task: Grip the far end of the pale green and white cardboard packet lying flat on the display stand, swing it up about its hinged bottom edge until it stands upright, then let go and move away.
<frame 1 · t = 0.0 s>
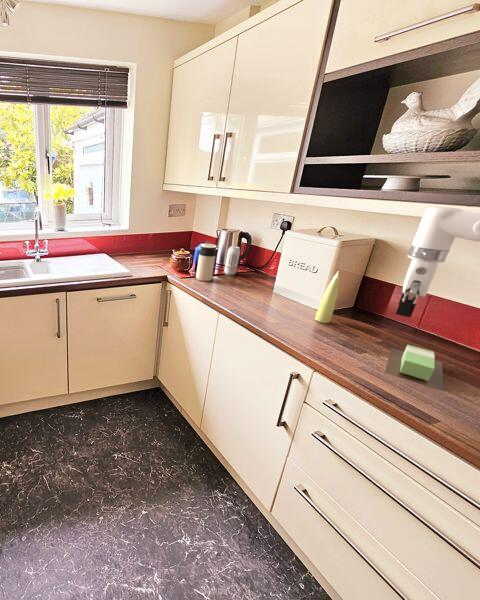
hand: (404, 310, 98), 17 cm above the counter, tool pointing down, fingers open, 9 cm apart
packet: (417, 361, 99), point 3 cm above the counter, hinge at 2.3°
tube: (322, 321, 130), on the counter
stand: (413, 368, 100), on the counter
travel mug: (203, 279, 177), on the counter
white bottle: (229, 274, 185), on the counter
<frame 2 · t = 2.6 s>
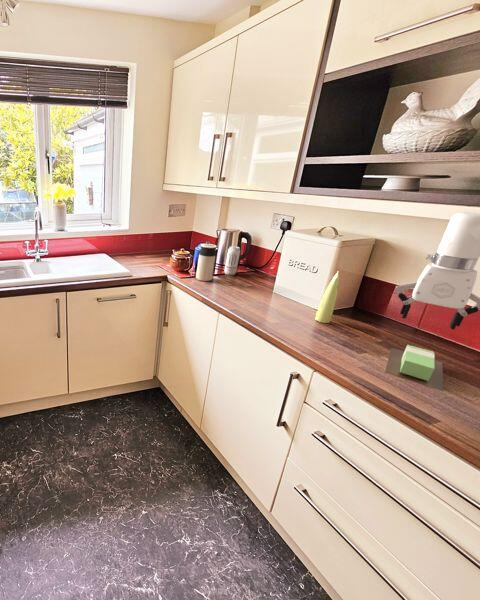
hand: (427, 322, 93), 16 cm above the counter, tool pointing down, fingers open, 9 cm apart
nothing on the counter moved.
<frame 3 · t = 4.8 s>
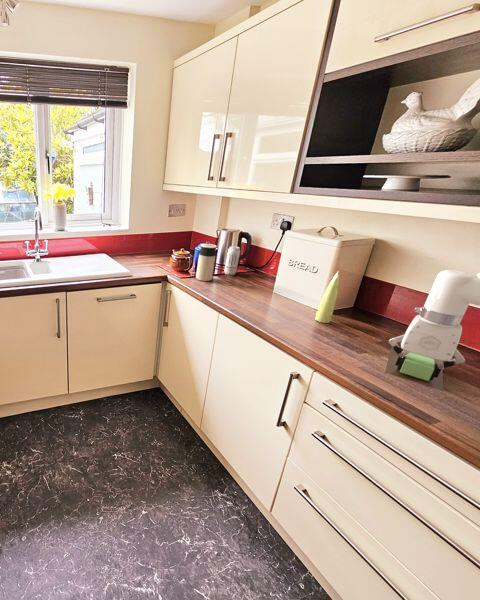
hand: (414, 372, 96), 1 cm above the counter, tool pointing down, fingers closed on packet, 6 cm apart
packet: (417, 361, 99), point 3 cm above the counter, hinge at 2.3°, touching gripper
everything else where it was.
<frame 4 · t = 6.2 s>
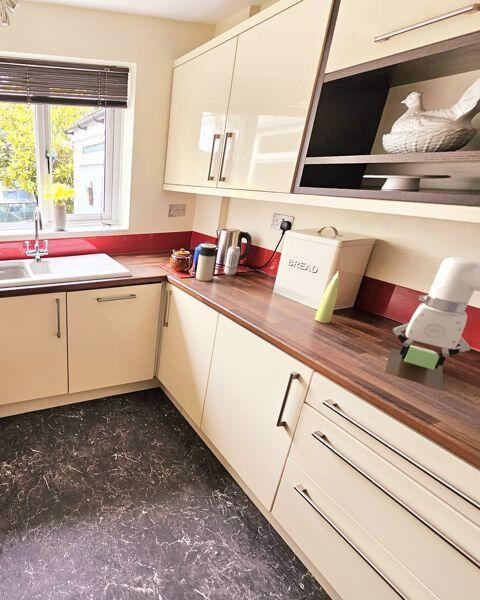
hand: (419, 361, 96), 4 cm above the counter, tool pointing down, fingers closed on packet, 6 cm apart
packet: (419, 356, 99), point 4 cm above the counter, hinge at 16.6°, touching gripper, stand
everything else where it was.
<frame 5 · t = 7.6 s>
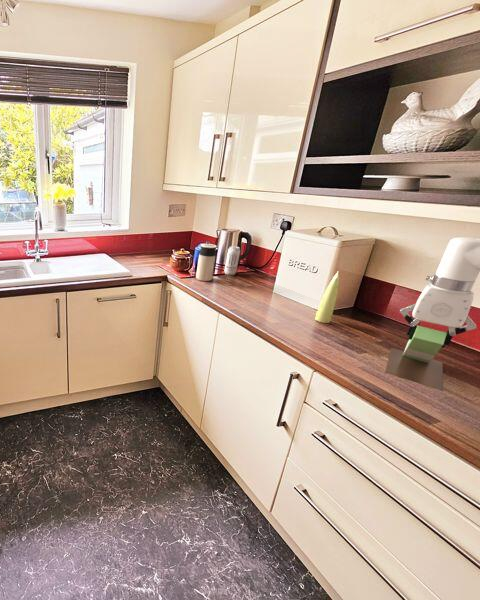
hand: (425, 341, 98), 9 cm above the counter, tool pointing down, fingers closed on packet, 6 cm apart
packet: (423, 344, 99), point 7 cm above the counter, hinge at 47.4°, touching gripper, stand
everything else where it was.
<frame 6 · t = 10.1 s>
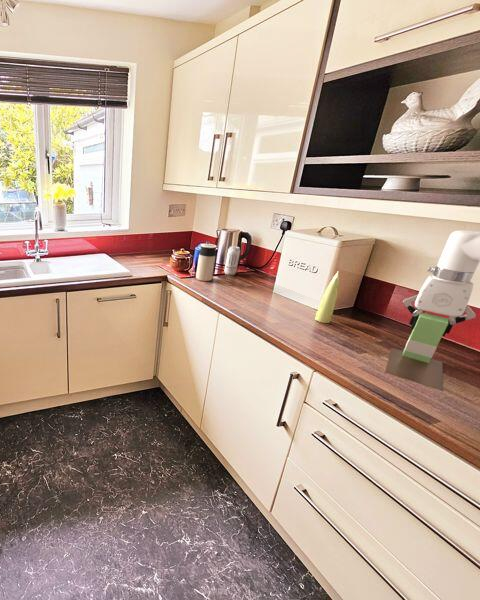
hand: (427, 330, 102), 10 cm above the counter, tool pointing down, fingers closed on packet, 6 cm apart
packet: (424, 337, 102), point 8 cm above the counter, hinge at 85.1°, touching gripper
everything else where it was.
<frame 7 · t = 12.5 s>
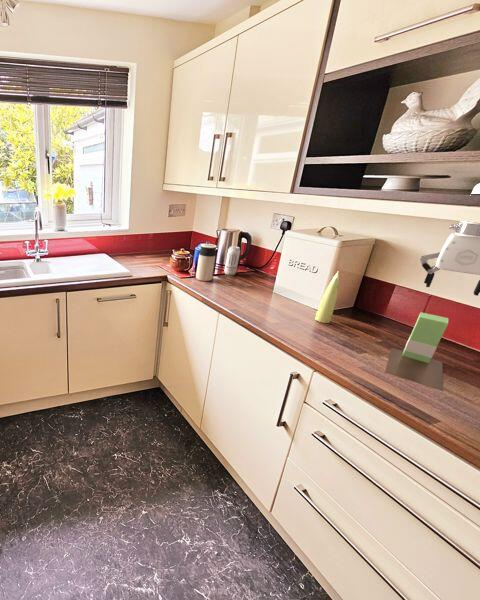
hand: (450, 290, 97), 23 cm above the counter, tool pointing down, fingers open, 9 cm apart
packet: (424, 337, 102), point 8 cm above the counter, hinge at 85.3°, touching stand
everything else where it was.
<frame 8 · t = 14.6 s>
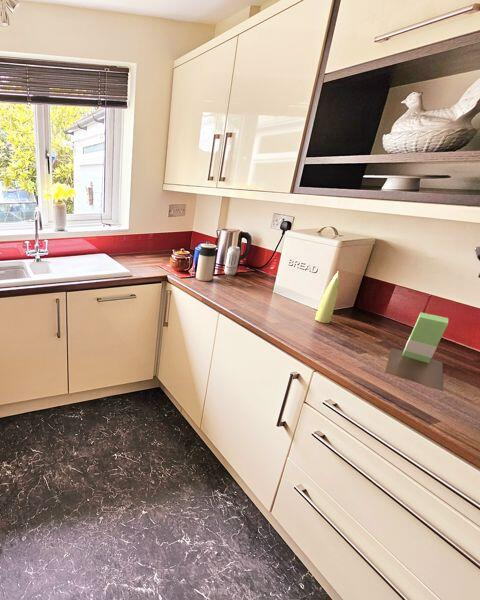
nothing on the counter moved.
at the end: packet at +85° (first picture: +2°); the gripper is holding nothing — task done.
